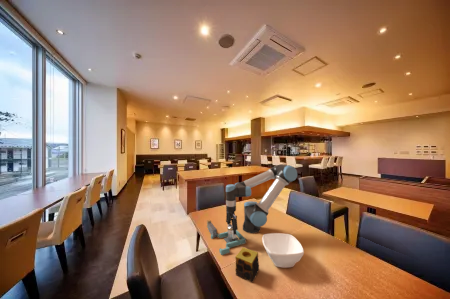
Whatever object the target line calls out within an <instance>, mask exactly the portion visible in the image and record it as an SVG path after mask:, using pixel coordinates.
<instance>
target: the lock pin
mask: <svg viewBox="0 0 450 299" xmlns="http://www.w3.org/2000/svg"><path fill="white" fill-rule="evenodd" d="M206 228H208V229H207V231H208V230H209V231H208V232H209V234H210V236H211V235H213V239H214V238H217V233H218V232H217V228H216V227H215V225H214V224H213V222H212V221H211V220H210V219H208V220H206Z"/></svg>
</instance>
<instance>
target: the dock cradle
mask: <svg viewBox="0 0 450 299" xmlns="http://www.w3.org/2000/svg"><path fill="white" fill-rule="evenodd" d="M216 238H219V239H222V238H223V240H224V241H225V248H219V254H220V255H221V256H224V255H227V254H230V252H231V251H230V248H231V249H232V248H233V247H237V246H240V245H241V246H242V245H244V244H246V243H247V238H245V236H243V234H241V232H239V230H236V240H235V241H233V242H229V241H228V231H224V232H221V233H218V232H217V237H216ZM210 239H211V240H213V239H214V238H213V235H211V234H210Z"/></svg>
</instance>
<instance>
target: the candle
mask: <svg viewBox="0 0 450 299" xmlns="http://www.w3.org/2000/svg"><path fill="white" fill-rule="evenodd" d="M234 259H235V275H236V277H237V276H238V277H239V278H242V279H244V280H246V281H249V282H250V283H254V281H255V279H256V277H257V274H258V272H259V268H260V265H259V263H260V262H259V252H257V251H255V250H252V249H249V248H245V247H242V248H241V249H240V251H239V252H238V253H237V254H236V255H235V258H234Z"/></svg>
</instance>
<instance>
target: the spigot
mask: <svg viewBox="0 0 450 299" xmlns="http://www.w3.org/2000/svg"><path fill="white" fill-rule="evenodd" d="M226 228H227V232H228V236H227V237H228V241H229V242H233V241H235V240H236V238H234V239H233V237H232V229H233V227H232V224H231V225H227V227H226Z"/></svg>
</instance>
